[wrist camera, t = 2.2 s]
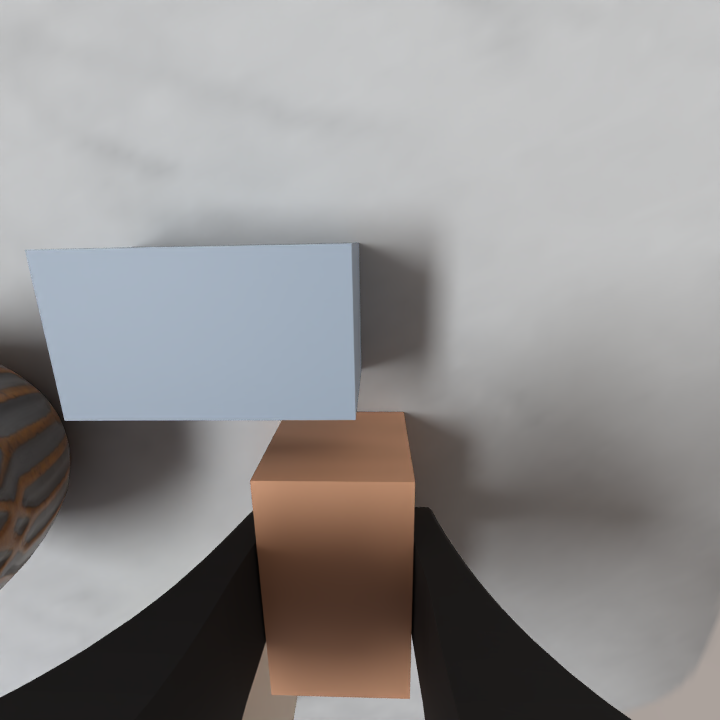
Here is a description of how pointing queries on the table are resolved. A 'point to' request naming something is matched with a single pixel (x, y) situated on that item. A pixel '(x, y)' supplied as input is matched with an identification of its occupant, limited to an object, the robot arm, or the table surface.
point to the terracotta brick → (337, 556)
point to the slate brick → (202, 331)
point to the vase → (28, 470)
